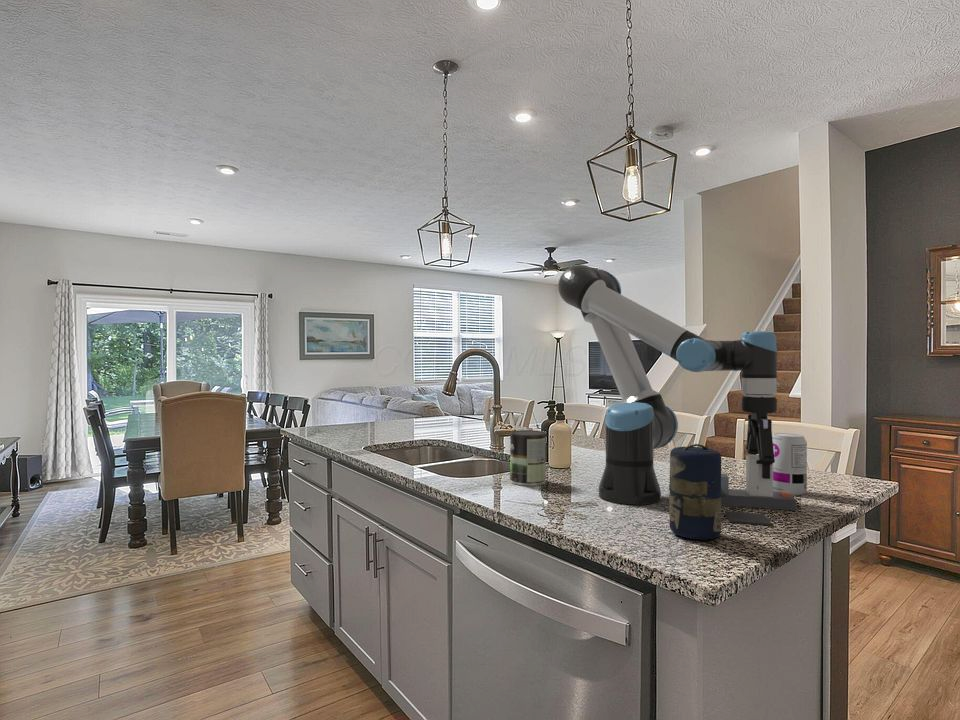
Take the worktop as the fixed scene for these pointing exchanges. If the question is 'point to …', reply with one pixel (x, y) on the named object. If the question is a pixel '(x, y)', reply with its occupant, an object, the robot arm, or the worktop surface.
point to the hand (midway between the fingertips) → (759, 486)
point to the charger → (754, 477)
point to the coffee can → (527, 457)
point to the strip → (755, 498)
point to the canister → (695, 492)
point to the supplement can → (790, 463)
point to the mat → (747, 518)
